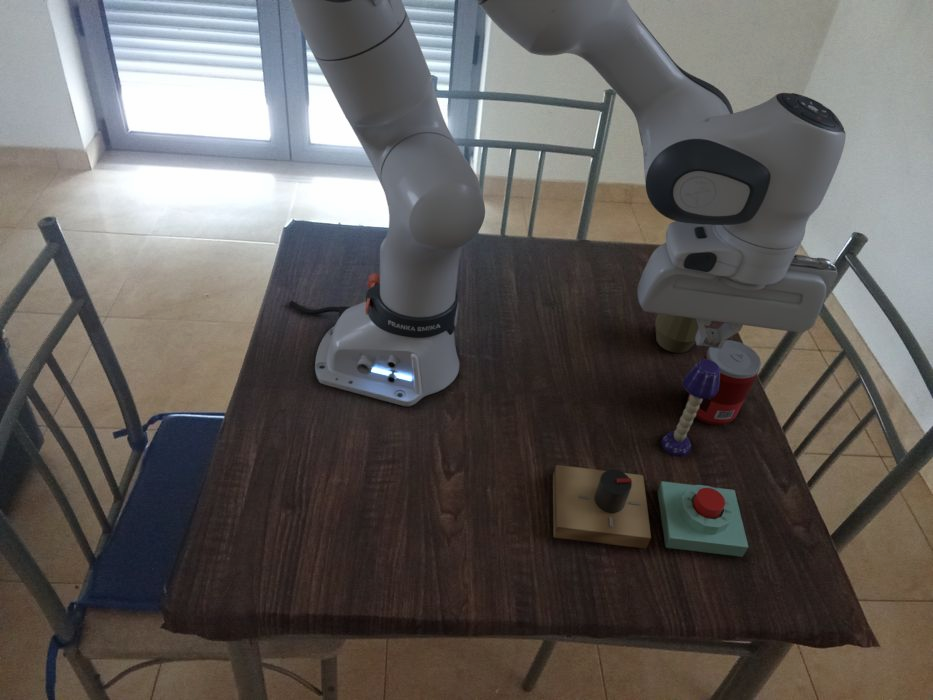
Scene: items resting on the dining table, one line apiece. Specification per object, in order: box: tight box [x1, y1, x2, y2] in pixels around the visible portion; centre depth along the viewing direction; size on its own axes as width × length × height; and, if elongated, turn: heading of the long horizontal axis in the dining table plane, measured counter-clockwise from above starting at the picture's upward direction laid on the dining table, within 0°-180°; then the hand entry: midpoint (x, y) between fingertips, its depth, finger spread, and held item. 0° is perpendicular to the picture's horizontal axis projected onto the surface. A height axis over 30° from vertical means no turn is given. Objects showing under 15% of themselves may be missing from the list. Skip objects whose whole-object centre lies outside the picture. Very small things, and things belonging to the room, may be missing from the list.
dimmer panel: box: [552, 464, 652, 549], centre depth 94 cm, size 12×10×3 cm
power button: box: [693, 488, 725, 518], centre depth 92 cm, size 4×4×2 cm
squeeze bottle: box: [654, 313, 706, 354], centre depth 116 cm, size 8×8×18 cm
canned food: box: [687, 339, 762, 426], centre depth 108 cm, size 8×8×11 cm
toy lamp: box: [660, 358, 720, 458], centre depth 99 cm, size 5×5×17 cm
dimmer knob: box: [594, 469, 632, 513], centre depth 92 cm, size 4×4×4 cm
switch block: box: [657, 480, 749, 558], centre depth 94 cm, size 10×9×4 cm
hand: (707, 343), depth 86 cm, fingers closed
